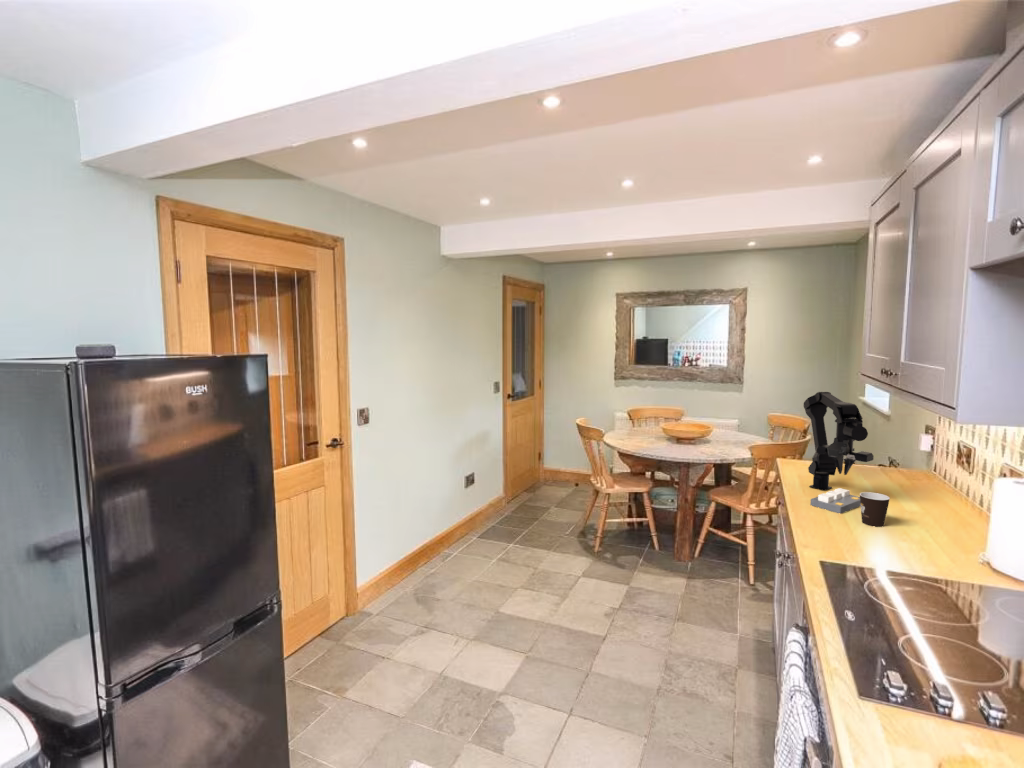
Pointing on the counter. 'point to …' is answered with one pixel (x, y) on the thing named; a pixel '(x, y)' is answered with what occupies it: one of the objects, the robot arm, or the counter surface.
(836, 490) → the key
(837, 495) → the middle key
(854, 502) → the keyguard plate
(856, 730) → the counter surface
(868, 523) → the coffee mug
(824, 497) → the key
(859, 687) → the counter surface
